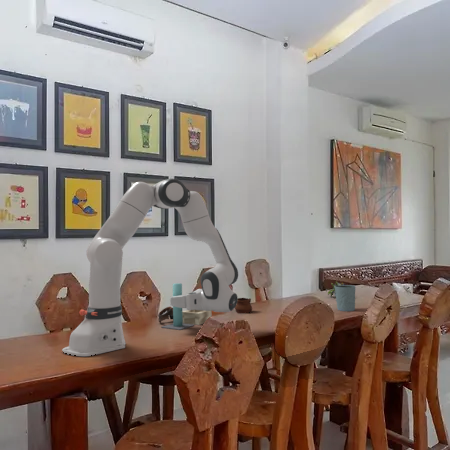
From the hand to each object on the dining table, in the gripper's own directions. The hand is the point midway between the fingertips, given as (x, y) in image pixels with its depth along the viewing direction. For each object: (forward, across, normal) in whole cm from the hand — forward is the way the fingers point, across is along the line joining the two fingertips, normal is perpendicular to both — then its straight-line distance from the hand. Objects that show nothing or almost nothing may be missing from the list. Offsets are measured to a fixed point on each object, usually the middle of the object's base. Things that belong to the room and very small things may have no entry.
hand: (175, 297), depth 195 cm
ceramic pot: (-8, -44, +13) cm, 46 cm away
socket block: (-2, -12, +12) cm, 17 cm away
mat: (-1, 0, +12) cm, 13 cm away
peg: (-1, 0, +12) cm, 12 cm away
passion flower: (-34, -110, +13) cm, 116 cm away
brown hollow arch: (+8, -6, +13) cm, 16 cm away
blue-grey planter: (-51, -72, +13) cm, 89 cm away
